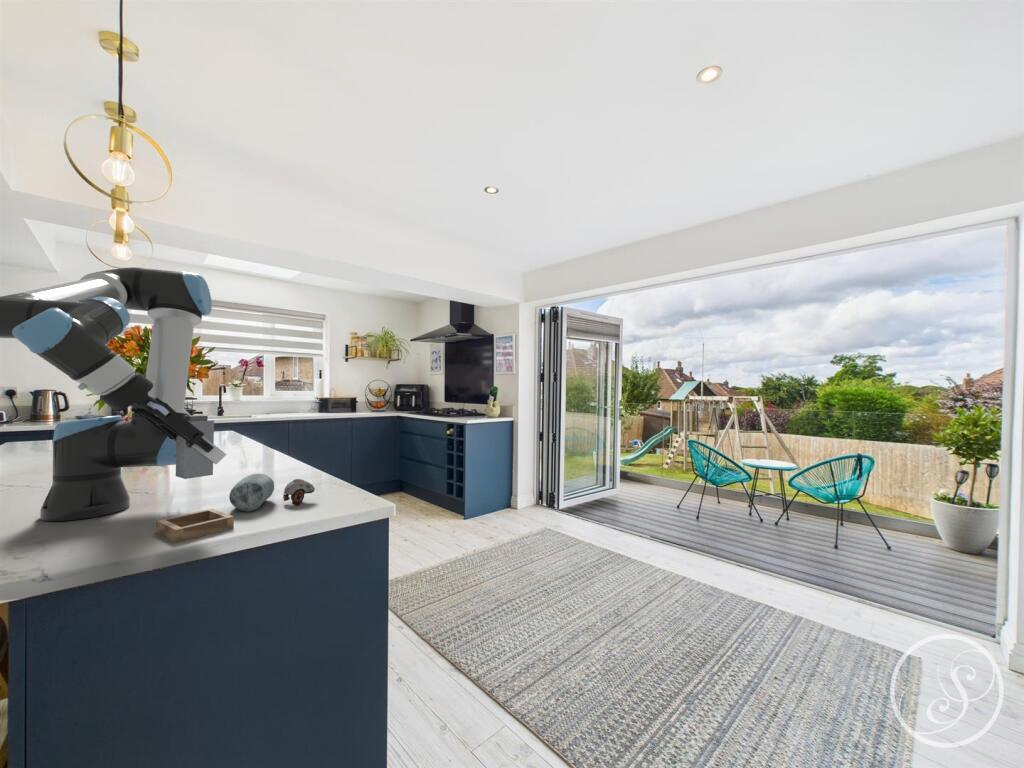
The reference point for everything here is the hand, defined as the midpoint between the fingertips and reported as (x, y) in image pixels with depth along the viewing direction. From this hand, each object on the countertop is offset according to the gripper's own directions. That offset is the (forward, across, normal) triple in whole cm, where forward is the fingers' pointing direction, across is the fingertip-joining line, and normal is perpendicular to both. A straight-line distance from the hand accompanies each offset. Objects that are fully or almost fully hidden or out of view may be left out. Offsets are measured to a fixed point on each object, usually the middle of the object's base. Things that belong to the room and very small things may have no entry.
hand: (214, 457), depth 91 cm
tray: (+8, 0, -13) cm, 16 cm away
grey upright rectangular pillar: (0, 0, -5) cm, 5 cm away
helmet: (+26, -2, +4) cm, 26 cm away
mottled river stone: (+20, -9, -2) cm, 22 cm away
